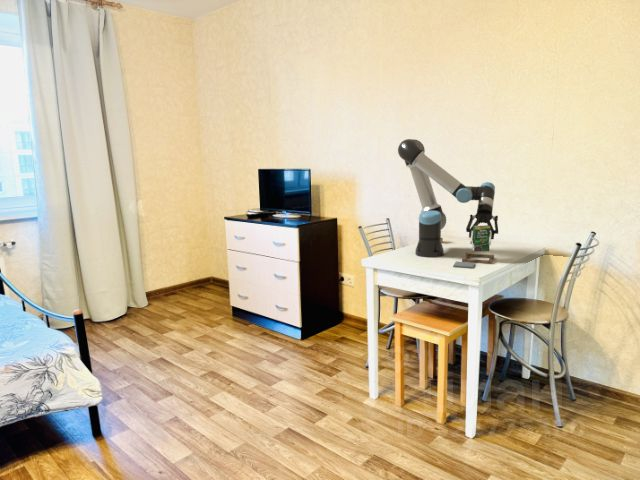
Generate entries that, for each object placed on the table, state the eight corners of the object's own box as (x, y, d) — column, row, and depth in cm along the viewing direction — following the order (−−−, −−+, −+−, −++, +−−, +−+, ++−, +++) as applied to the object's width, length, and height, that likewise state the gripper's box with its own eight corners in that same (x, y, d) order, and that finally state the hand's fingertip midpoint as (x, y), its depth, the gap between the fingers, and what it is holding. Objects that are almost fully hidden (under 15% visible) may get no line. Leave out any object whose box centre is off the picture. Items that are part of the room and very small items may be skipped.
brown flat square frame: (461, 262, 223) (462, 259, 222) (465, 255, 236) (465, 253, 236) (491, 264, 217) (491, 261, 216) (493, 257, 230) (494, 254, 230)
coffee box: (473, 251, 224) (474, 226, 221) (471, 250, 226) (473, 225, 224) (489, 251, 224) (491, 226, 221) (487, 250, 226) (488, 225, 224)
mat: (453, 267, 213) (453, 265, 213) (455, 263, 221) (456, 261, 221) (472, 268, 209) (472, 266, 209) (474, 264, 217) (474, 262, 217)
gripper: (506, 213, 231) (502, 248, 220) (464, 211, 240) (459, 245, 228) (506, 203, 225) (502, 240, 214) (464, 202, 234) (458, 237, 223)
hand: (480, 243), depth 221 cm, fingers closed on coffee box, 8 cm apart
